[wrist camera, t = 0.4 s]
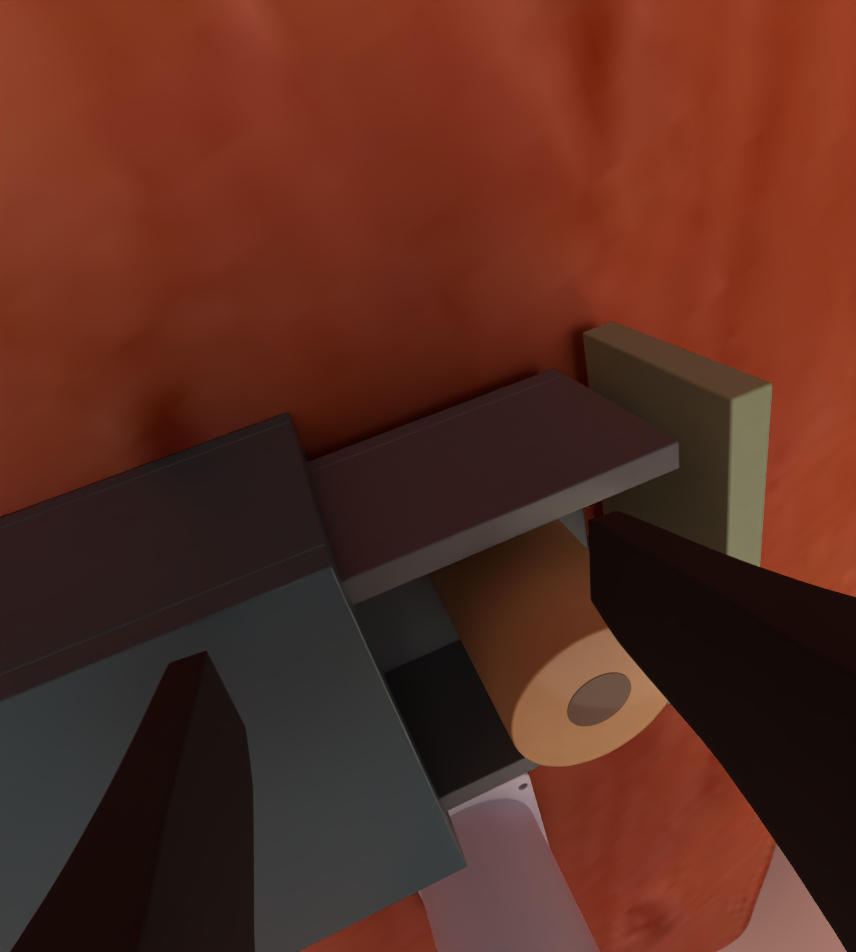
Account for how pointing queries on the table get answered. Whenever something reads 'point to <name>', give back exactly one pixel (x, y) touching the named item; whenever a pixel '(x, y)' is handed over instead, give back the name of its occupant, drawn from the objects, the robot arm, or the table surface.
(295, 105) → the table surface
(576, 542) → the paper roll
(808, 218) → the table surface
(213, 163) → the table surface
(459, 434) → the drawer
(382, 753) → the cabinet
